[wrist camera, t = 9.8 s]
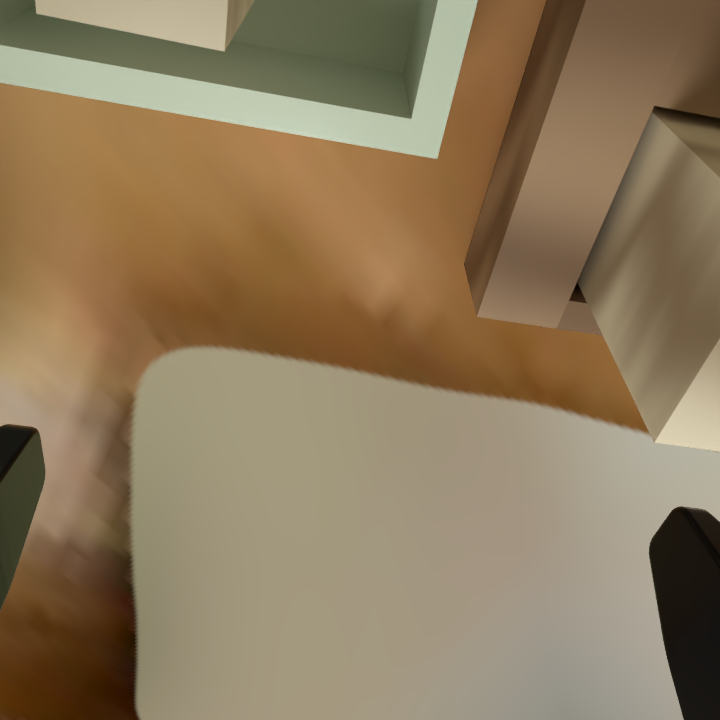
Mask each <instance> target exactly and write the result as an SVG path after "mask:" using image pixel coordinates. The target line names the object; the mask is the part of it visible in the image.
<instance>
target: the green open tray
mask: <svg viewBox="0 0 720 720" xmlns="http://www.w3.org/2000/svg"><path fill="white" fill-rule="evenodd" d="M477 2H478V0H255V1H254V2H253V4H252V6H251V7H250V9H249V11H248V13H247V14H246V16H245V18H244V19H243V21H242V23H241V25H240V26H239V28H238V30H237V31H236V33H235V35H234V36H233V38H232V40H231V42H230V43H229V45H228V47H227V48H226V50H225V52H224V51H219V50H214V49H209V48H204V47H199V46H194V45H189V44H184V43H179V42H174V41H169V40H164V39H159V38H155V37H150V36H145V35H140V34H135V33H130V32H125V31H120V30H115V29H110V28H105V27H100V26H95V25H90V24H85V23H80V22H75V21H70V20H66V19H61V18H56V17H51V16H46V15H41V14H36V5H35V0H0V83H5V84H10V85H16V86H22V87H28V88H33V89H39V90H45V91H51V92H56V93H62V94H68V95H73V96H79V97H85V98H91V99H96V100H102V101H108V102H114V103H119V104H125V105H131V106H136V107H142V108H148V109H154V110H159V111H165V112H171V113H177V114H182V115H188V116H194V117H200V118H205V119H211V120H217V121H222V122H228V123H234V124H240V125H245V126H251V127H257V128H263V129H268V130H274V131H280V132H286V133H291V134H297V135H303V136H308V137H314V138H320V139H326V140H331V141H337V142H343V143H349V144H354V145H360V146H366V147H372V148H377V149H383V150H389V151H394V152H400V153H406V154H412V155H417V156H423V157H429V158H435V159H437V157H438V153H439V150H440V146H441V142H442V138H443V134H444V130H445V126H446V122H447V118H448V115H449V111H450V107H451V103H452V99H453V95H454V91H455V87H456V83H457V80H458V76H459V72H460V68H461V64H462V60H463V56H464V52H465V48H466V45H467V41H468V37H469V33H470V29H471V25H472V21H473V17H474V13H475V10H476V6H477Z"/></svg>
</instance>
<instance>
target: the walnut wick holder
mask: <svg viewBox="0 0 720 720" xmlns="http://www.w3.org/2000/svg"><path fill="white" fill-rule="evenodd" d="M654 106H658V107H664V108H669V109H674V110H679V111H685V112H690V113H695V114H700V115H706V116H711V117H716V118H720V0H547V2H546V5H545V8H544V11H543V15H542V18H541V21H540V24H539V27H538V31H537V34H536V37H535V40H534V43H533V47H532V50H531V53H530V56H529V59H528V62H527V66H526V69H525V72H524V75H523V78H522V82H521V85H520V88H519V91H518V94H517V98H516V101H515V104H514V107H513V110H512V114H511V117H510V120H509V123H508V126H507V129H506V133H505V136H504V139H503V142H502V145H501V149H500V152H499V155H498V158H497V161H496V165H495V168H494V171H493V174H492V177H491V181H490V184H489V187H488V190H487V193H486V196H485V200H484V203H483V206H482V209H481V212H480V216H479V219H478V222H477V225H476V228H475V232H474V235H473V238H472V241H471V244H470V248H469V251H468V254H467V257H466V260H465V263H464V266H465V270H466V274H467V278H468V282H469V287H470V291H471V295H472V299H473V303H474V307H475V311H476V316H477V317H482V318H489V319H496V320H503V321H509V322H516V323H523V324H529V325H536V326H543V327H550V328H556V329H563V330H570V331H576V332H583V333H590V334H597V335H602V333H601V331H600V329H599V327H598V324H597V322H596V320H595V318H594V316H593V314H592V312H591V310H590V308H589V306H588V304H587V302H586V300H585V297H584V295H583V293H582V291H581V289H580V287H579V285H578V283H577V281H578V278H579V276H580V274H581V272H582V269H583V267H584V265H585V262H586V260H587V258H588V256H589V253H590V251H591V249H592V247H593V244H594V242H595V240H596V237H597V235H598V233H599V231H600V228H601V226H602V224H603V221H604V219H605V217H606V215H607V212H608V210H609V208H610V206H611V203H612V201H613V199H614V196H615V194H616V192H617V190H618V187H619V185H620V183H621V180H622V178H623V176H624V174H625V171H626V169H627V167H628V165H629V162H630V160H631V158H632V155H633V153H634V151H635V149H636V146H637V144H638V142H639V139H640V137H641V135H642V133H643V130H644V128H645V126H646V124H647V121H648V119H649V117H650V114H651V112H652V110H653V108H654Z"/></svg>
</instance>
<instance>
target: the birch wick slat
mask: <svg viewBox="0 0 720 720" xmlns="http://www.w3.org/2000/svg"><path fill="white" fill-rule="evenodd" d="M254 1H255V0H35V5H36V14H41V15H46V16H51V17H56V18H61V19H66V20H70V21H75V22H80V23H85V24H90V25H95V26H100V27H105V28H110V29H115V30H120V31H125V32H130V33H135V34H140V35H145V36H150V37H155V38H159V39H164V40H169V41H174V42H179V43H184V44H189V45H194V46H199V47H204V48H209V49H214V50H219V51H224V52H225V50H226V48H227V47H228V45H229V43H230V42H231V40H232V38H233V36H234V35H235V33H236V31H237V30H238V28H239V26H240V25H241V23H242V21H243V19H244V18H245V16H246V14H247V13H248V11H249V9H250V7H251V6H252V4H253V2H254Z"/></svg>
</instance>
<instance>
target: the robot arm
mask: <svg viewBox="0 0 720 720" xmlns="http://www.w3.org/2000/svg"><path fill="white" fill-rule="evenodd" d="M44 480H45V464H44V458H43V451H42V445H41V439H40V434H39V432H38V430H37V429H36V428H33V427H28V426H20V425H12V424H6V425H3V426H1V427H0V610H1V608H2V605H3V603H4V601H5V598H6V596H7V593H8V591H9V588H10V586H11V583H12V580H13V577H14V574H15V571H16V568H17V565H18V562H19V559H20V556H21V553H22V550H23V547H24V543H25V540H26V537H27V534H28V531H29V528H30V525H31V522H32V519H33V516H34V513H35V510H36V507H37V504H38V501H39V497H40V494H41V491H42V488H43V485H44ZM649 558H650V563H651V569H652V575H653V582H654V588H655V593H656V600H657V605H658V611H659V617H660V623H661V629H662V635H663V641H664V646H665V650H666V655H667V659H668V663H669V667H670V671H671V675H672V678H673V682H674V686H675V689H676V693H677V696H678V700H679V704H680V707H681V711H682V715H683V718H684V720H720V522H719V521H718V520H717V519H716V518H714V517H713V516H712V515H711V514H710V513H709V512H707V511H706V510H703V509H698V508H690V507H682V506H681V507H677V508H675V509H673V510H672V511H671V513H670V514H669V516H668V517H667V518H666V520H665V521H664V522H663V524H662V525H661V527H660V528H659V530H658V531H657V532H656V534H655V535H654V536H653V538H652V540H651V543H650V547H649Z"/></svg>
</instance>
